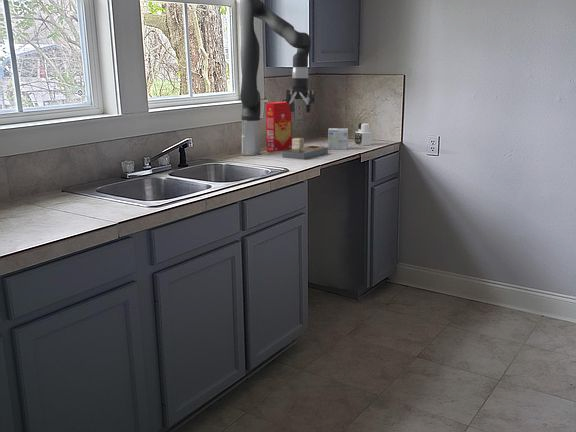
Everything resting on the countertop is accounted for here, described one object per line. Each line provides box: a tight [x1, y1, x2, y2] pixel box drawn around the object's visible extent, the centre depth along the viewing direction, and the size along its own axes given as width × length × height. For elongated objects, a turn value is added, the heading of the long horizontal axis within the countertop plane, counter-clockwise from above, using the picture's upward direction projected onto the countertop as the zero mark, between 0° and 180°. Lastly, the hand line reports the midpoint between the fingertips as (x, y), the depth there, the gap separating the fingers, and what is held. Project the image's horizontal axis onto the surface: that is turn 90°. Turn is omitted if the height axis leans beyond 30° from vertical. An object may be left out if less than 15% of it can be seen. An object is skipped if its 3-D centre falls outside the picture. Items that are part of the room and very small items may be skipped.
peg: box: [292, 137, 305, 152], centre depth 281 cm, size 4×4×9 cm
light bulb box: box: [327, 127, 349, 150], centre depth 314 cm, size 11×7×11 cm, turn 84°
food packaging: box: [265, 100, 293, 153], centre depth 307 cm, size 15×5×25 cm, turn 143°
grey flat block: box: [282, 145, 329, 161], centre depth 287 cm, size 22×12×4 cm, turn 145°
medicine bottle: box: [354, 122, 373, 146], centre depth 329 cm, size 7×7×12 cm
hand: (300, 112), depth 278 cm, fingers open, 8 cm apart
